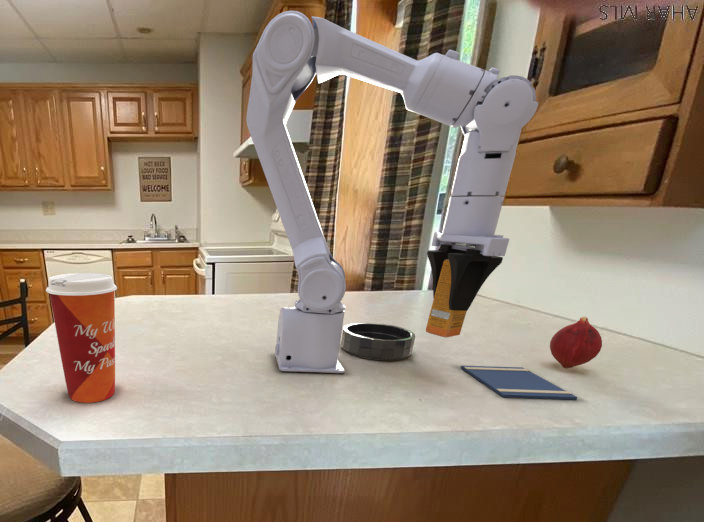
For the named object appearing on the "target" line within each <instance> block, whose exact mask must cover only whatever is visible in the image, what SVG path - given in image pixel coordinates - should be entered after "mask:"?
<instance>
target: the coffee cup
mask: <svg viewBox="0 0 704 522" xmlns="http://www.w3.org/2000/svg"><path fill="white" fill-rule="evenodd" d="M117 289H118V286H117V285H116V284H115V282H114V278H113V277H112V275H110V274H106V273H101V272H100V273H99V272H74V273H73V272H72V273H63V274H57V275H52V276H49V278H48V286H47V287H46V289H45V292H46V293H48V294H49V300H50V305H51V311H52V317H53V322H54V326H55V332H56V338H57V342H58V343H57V344H58V350H59V355H60V360H61V365H62V370H63V371H62V372H63V375H64V376H63V377H64V380H65V385H66V386H65V387H66V391H67V395H68V397H69V399H70V400H72V401H73V402H77V403H83V404H89V403H90V404H91V403H98V402H103V401H105V400H109V399H111V398H112V397H113V396H114V395H115V391H116V317H115V316H116V315H115V314H116V310H115V309H116V307H115V306H116V305H115V302H116V301H115V300H116V299H115V292H116V291H117Z"/></svg>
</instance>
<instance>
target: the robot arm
mask: <svg viewBox="0 0 704 522" xmlns="http://www.w3.org/2000/svg"><path fill="white" fill-rule="evenodd" d="M459 57H460V52H458V51H456V50H453V49H448V50H447V52H446V53H445V54H441V53H439V52H434V53H431V54H430V55H428V56H425V57H424V58H422V59H419V60H417V59H415V58H412V57H410V56H408V55H406V54H403V53H402V52H398V51H396V50H394V49H392V48H390V47H387V46H385V45H383V44H381V43H378V42H376V41H374V40H372V39H369V38H367V37H364V36H362V35H360V34H358V33H356V32H353V31H352V30H349V29H346V28H345V27H342V26H340V25H338V24H336V23H334V22H331V21H330V20H328V19H326V18H324V17H319V16H311V20H310V19H309V17H307V16H306V15H305V14H304V13H303V12H300V11H297V10H286V11H283V12H281V13H279V14H277V15H275V16H274V17H273V18H272V19H271V20H270V21H269V22H268V24H266V26H265V28H264V29H263V32H262V34H261V36H260V38H259V40H258V43H257V45H256V47H255V49H254V51H253V54H252V75H251V82H250V89H249V95H248V103H247V109H246V117H245V120H246V126H247V129H248V132H249V135H250V138H251V141H252V143H253V146H254V148H255V151H256V154H257V157H258V160H259V163H260V165H261V168H262V172H263V174H264V176H265V179H266V182H267V184H268V187H269V190H270V193H271V195H272V198H273V201H274V204H275V207H276V210H277V212H278V214H279V218H280V220H281V223H282V226H283V228H284V232H285V233H286V237H287V240H288V242H289V245H290V248H291V251H292V255H293V259H294V260H293V261H294V266H295V269H296V271H297V276H298V283H297V295H298V298H299V299H297V300H295V302H294V306H290V307H281V308H280V310H279V314H278V320H277V329H276V330H277V333H276V342H275V351H274V356H275V357H274V358H275V359H276V364H277V366H278V370H279V371H281V372H295V373H296V372H300V373H328V374H329V373H331V374H344V373H345V371H346V370H345V367H344V366H343V365H342V364H341V362H340V361H339V353H340V347H341V341H342V334H343V327H344V326H343V325H344V320H345V319H344V318H345V312H346V304H344V303H342V301H343V299H344V297H345V294H346V290H347V283H346V273H345V269H344V268H343V266H342V265H341V264H340V263H339V262H338V261H337V260H336V259H335V258H334V257H333V255H332V253H331V250H330V247H329V245H328V243H327V240H326V238H325V234H324V232H323V229H322V226H321V224H320V220H319V217H318V215H317V212H316V209H315V206H314V203H313V200H312V197H311V195H310V191H309V189H308V185H307V183H306V179H305V177H304V174H303V171H302V168H301V165H300V162H299V160H298V156H297V154H296V151H295V148H294V145H293V142H292V139H291V137H290V133H289V131H288V128H287V127H288V126H287V123H288V120H289V118H290V115H291V114H292V111H293V109H294V107H295V104H296V102H297V100H298V99H299V98H300V97H301V95H302V94H304V92H305V91H306V90H307V88H309V86H310V85H311V84H312V82H313V81H314V78H315V77H316V78H317V84H321V83H323V82H326V81H328V80H330V79H332V78H334V77H338V76H340V75H344V76H346V77H350V78H353V79H356V80H359V81H363V82H366V83H369V84H371V85H374V86H377V87H381V88H384V89H387V90H390V91H392V92H393V91H394V92H397V93H400V95H401V96H402V99H403V102H404V105H405V109H406V110H407V111H409V112H412V113H415V114H418V115H420V116H423V117H425V118H428V119H431V120H433V121H436V122H438V123H440V124H444V125H446V126H448V127H451V128H454V129H456V128H458V127H460V128H461V132H462V134H463V136H464V138H463V143H462V148H461V152H460V154H459V157H458V160H457V165H456V169H455V174H454V179H453V183H452V188H451V191H450V196H449V200H448V206H447V210H446V214H445V218H444V223H443V228H442V231H434V232H433V237H432V242H431V246H432V247H439V248H437V249H430V250H427V251H426V256H427V259H428V261H429V265H430V269H431V275H432V292H433V293H432V297H433V299H434V296H435V292H436V288H437V285H438V281H439V277H440V273H441V270H442V266H443V262H444V260H446V259H449V263H450V268H451V288H450V295H449V309H450V310H458V311H467V312H468V311H469V309H470V307H471V305H472V304H473V302H474V300H475V298H476V296H477V295H478V293H479V291H480V289H481V288H482V287H483V285H484V284H485V282H486V280H487V279H488V278H489V277H490V276H491V274H492V273H493V272H494V271H495V270H496V269H497V268H498V267H499V266H500V265H501V264H502V263H503V260H504V257H505V256H506V253H507V249H508V246H509V242H510V238H508V237H504V235H503V234H495V233H496V230H497V226H498V222H499V218H500V215H501V211H502V208H503V204H504V200H505V196H506V194H507V193H506V192H507V188H508V186H509V185H508V184H509V182H510V177H511V174H512V170H513V167H514V162H515V159H516V155H517V148H518V144H519V140H520V137H521V133H522V128H523V127H525V126H526V125H527V124H528V123H529V122H530V120H531V119H532V118H533V116H534V115H535V114H536V111H537V109H538V106H539V102H538V101H536V99H537V94H536V88H535V87H533V86H532V85H533V83H532V82H531V80H529V79H527V78H526V77H524V76H521V75H514V74H513V75H508V76H503V77H500V78H498V77H499V76H498V75H499V74H500V72H501V70H500V69H499V68H496V67H493V66H492V67H490V69H488V70H486V69H483V68H481V67H478V66H475V65H473V64H470V63H467V62H464V61H461V60H459ZM463 244H465V245H463Z"/></svg>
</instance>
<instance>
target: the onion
mask: <svg viewBox="0 0 704 522" xmlns="http://www.w3.org/2000/svg"><path fill="white" fill-rule="evenodd" d="M602 347H603V340H602V336H601V334H600V331H598V329H596V328H595V326H593V325H592V324H591V322H590V321H589V318H588V317H587V316H581V317H580V318H579V320H578V321H576V322H574V323H571V324H569V325H566V326H564V327H562V328H560V329H559V330H558V331H556V332H555V333H554V335H553V336H552V337H551V339H550V341H549V350H550V354H551V356H552V357H553V359H555V361H557V362H558V363H559V364H560V365H561V367H563V368H564V369H571V368H574V367H579V366H582V365H584V364H587V363H589V362H591V361H592V360H593V359H595V358H596V357H598V355H599V354H600V352H601V350H602Z"/></svg>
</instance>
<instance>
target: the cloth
mask: <svg viewBox="0 0 704 522" xmlns="http://www.w3.org/2000/svg"><path fill="white" fill-rule="evenodd" d="M460 369H462V370H463V371H464V372H466V373H467V374H469V375H470V376H472V377H473V378H474V379H475V380H477V381H479V382H480V383H482V384H483V385H485V386H486V387H487V388H489V389H490V390H492V391H493V392H494V393H496V394H497V395H499V396H501V397H502V398H511V399H512V398H513V399H515V398H516V399H539V400H540V399H542V400H546V399H547V400H568V401H570V400H572V401H576V400H577V399H578V397H577V396H576V395H574V394H573V393H572V392H570V391H569V390H567V391H566V390H565V389H563V388H561V387H559V386H557V385H556V384H554V383H552V382H551V381H549V380H546V379H545V378H543V377H541V376H539V375H537V374H535V373H534V372H532V371H531V370H530V369H529V368H524V367H523V366H522V367H517V366H487V365H486V366H485V365H460Z"/></svg>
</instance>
